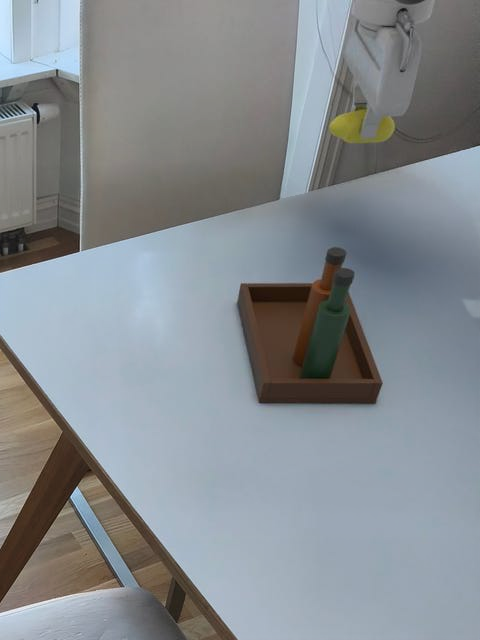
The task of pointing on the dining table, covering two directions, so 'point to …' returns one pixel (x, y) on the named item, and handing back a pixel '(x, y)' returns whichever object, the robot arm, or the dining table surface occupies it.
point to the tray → (280, 342)
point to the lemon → (350, 125)
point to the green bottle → (328, 329)
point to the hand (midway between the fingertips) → (361, 127)
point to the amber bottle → (317, 300)
